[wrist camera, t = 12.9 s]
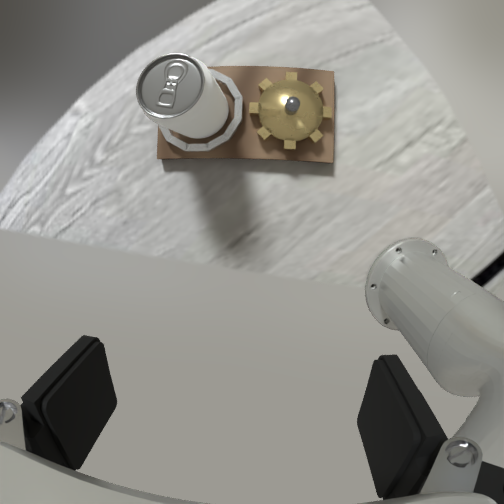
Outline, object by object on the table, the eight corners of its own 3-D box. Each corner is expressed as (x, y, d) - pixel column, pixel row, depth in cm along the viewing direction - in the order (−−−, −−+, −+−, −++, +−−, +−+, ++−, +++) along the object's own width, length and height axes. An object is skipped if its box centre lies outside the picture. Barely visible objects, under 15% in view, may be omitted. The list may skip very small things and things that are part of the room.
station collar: (244, 71, 31) (243, 68, 30) (241, 151, 33) (240, 150, 32) (163, 75, 31) (159, 72, 30) (158, 152, 34) (155, 152, 33)
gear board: (331, 75, 32) (334, 71, 30) (330, 163, 35) (333, 162, 33) (165, 74, 33) (162, 70, 31) (161, 159, 35) (157, 158, 34)
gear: (329, 79, 31) (337, 67, 26) (328, 152, 33) (336, 149, 29) (251, 74, 31) (248, 61, 27) (248, 148, 33) (246, 144, 29)
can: (236, 92, 32) (220, 54, 20) (220, 145, 33) (196, 131, 22) (182, 81, 32) (145, 44, 20) (167, 133, 33) (121, 117, 22)
